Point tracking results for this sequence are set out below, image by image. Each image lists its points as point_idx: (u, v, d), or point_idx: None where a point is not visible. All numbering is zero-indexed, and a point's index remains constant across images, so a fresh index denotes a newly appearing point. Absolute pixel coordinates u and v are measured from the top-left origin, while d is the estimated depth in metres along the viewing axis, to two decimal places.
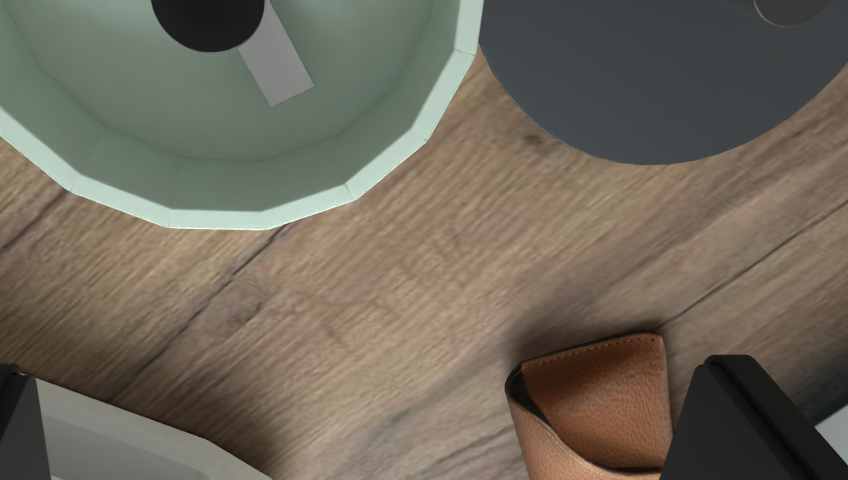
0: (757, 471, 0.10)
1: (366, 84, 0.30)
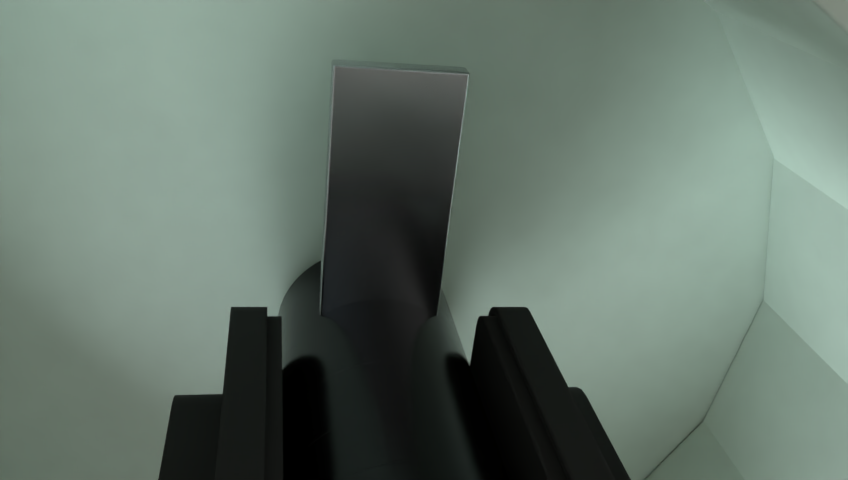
0: (505, 411, 0.10)
1: None
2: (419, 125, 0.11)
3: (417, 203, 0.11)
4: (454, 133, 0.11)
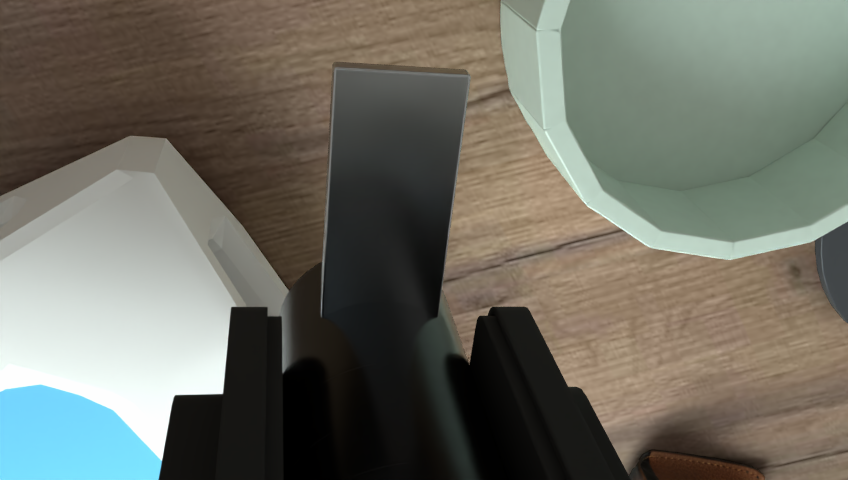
0: (505, 411, 0.10)
1: (733, 162, 0.33)
2: (420, 128, 0.11)
3: (418, 205, 0.11)
4: (455, 135, 0.11)
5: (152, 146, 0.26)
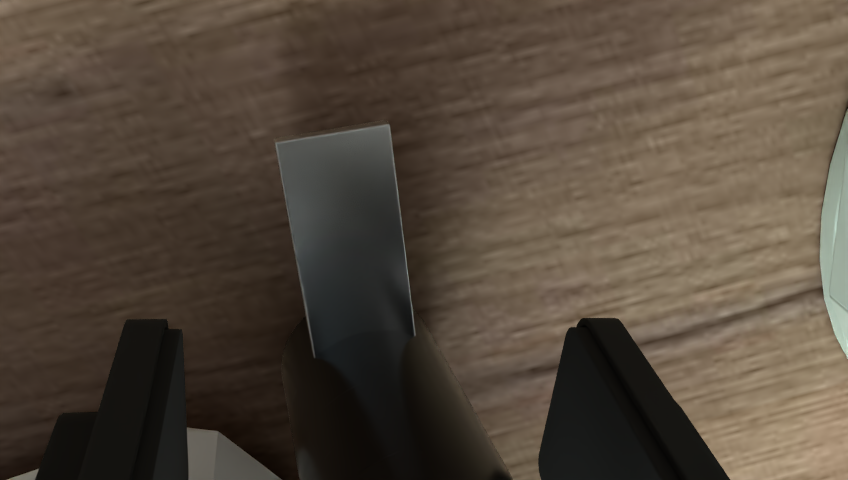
0: (608, 424, 0.10)
1: None
2: (358, 176, 0.12)
3: (373, 241, 0.13)
4: (389, 176, 0.13)
5: (194, 464, 0.13)
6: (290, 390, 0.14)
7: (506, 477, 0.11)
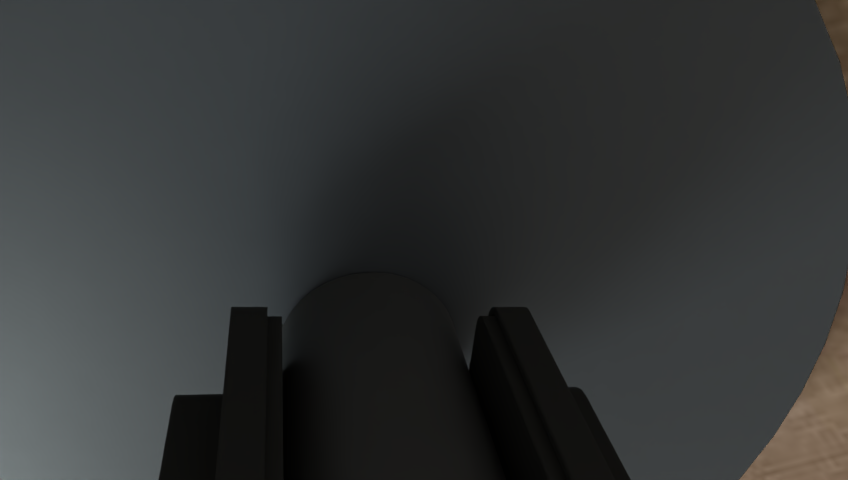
0: (505, 411, 0.10)
1: None
2: None
3: None
4: None
5: None
6: None
7: None
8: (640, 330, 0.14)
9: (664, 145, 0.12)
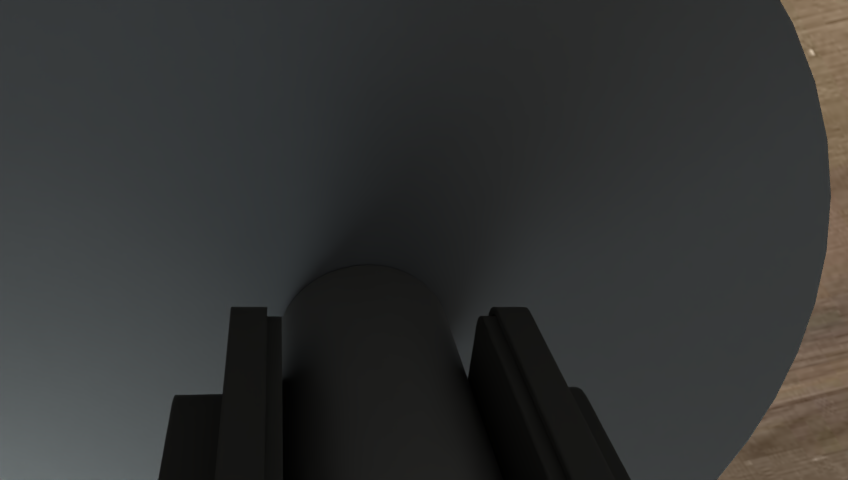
0: (505, 411, 0.10)
1: None
2: None
3: None
4: None
5: None
6: None
7: None
8: (628, 302, 0.14)
9: (629, 120, 0.13)
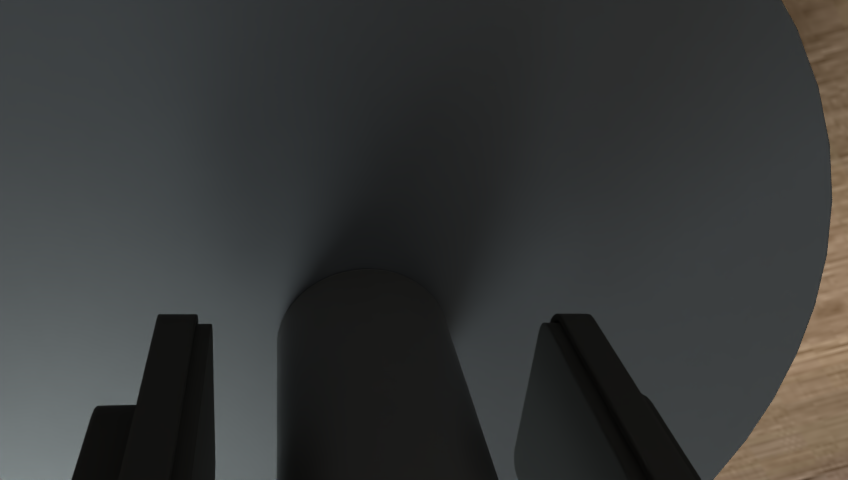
0: (577, 418, 0.10)
1: None
2: None
3: None
4: None
5: None
6: None
7: None
8: (628, 305, 0.14)
9: (631, 125, 0.13)
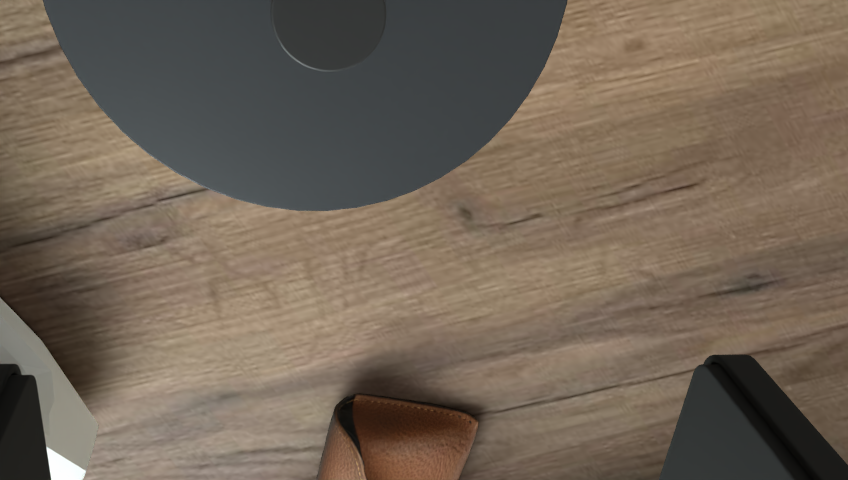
0: (757, 471, 0.10)
1: None
2: None
3: None
4: None
5: None
6: None
7: None
8: None
9: None
